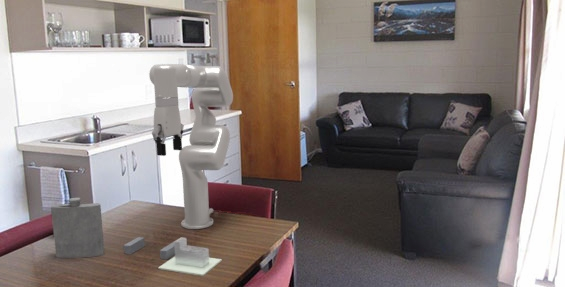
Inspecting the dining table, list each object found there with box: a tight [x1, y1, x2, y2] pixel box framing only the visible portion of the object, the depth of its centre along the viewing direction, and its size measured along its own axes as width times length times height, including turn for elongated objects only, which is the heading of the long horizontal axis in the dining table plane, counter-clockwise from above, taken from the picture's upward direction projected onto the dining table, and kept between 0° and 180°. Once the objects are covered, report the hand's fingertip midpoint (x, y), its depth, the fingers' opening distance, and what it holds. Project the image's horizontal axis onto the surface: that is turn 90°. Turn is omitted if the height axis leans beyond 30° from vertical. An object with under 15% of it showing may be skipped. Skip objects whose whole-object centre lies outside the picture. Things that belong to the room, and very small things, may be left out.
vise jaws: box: [123, 236, 175, 261], centre depth 171 cm, size 8×17×3 cm, turn 69°
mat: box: [158, 256, 223, 277], centre depth 161 cm, size 12×16×1 cm
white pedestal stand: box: [173, 236, 210, 268], centre depth 160 cm, size 4×10×8 cm, turn 69°
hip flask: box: [50, 197, 106, 259], centre depth 169 cm, size 16×4×20 cm, turn 93°
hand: (169, 152), depth 172 cm, fingers open, 9 cm apart
